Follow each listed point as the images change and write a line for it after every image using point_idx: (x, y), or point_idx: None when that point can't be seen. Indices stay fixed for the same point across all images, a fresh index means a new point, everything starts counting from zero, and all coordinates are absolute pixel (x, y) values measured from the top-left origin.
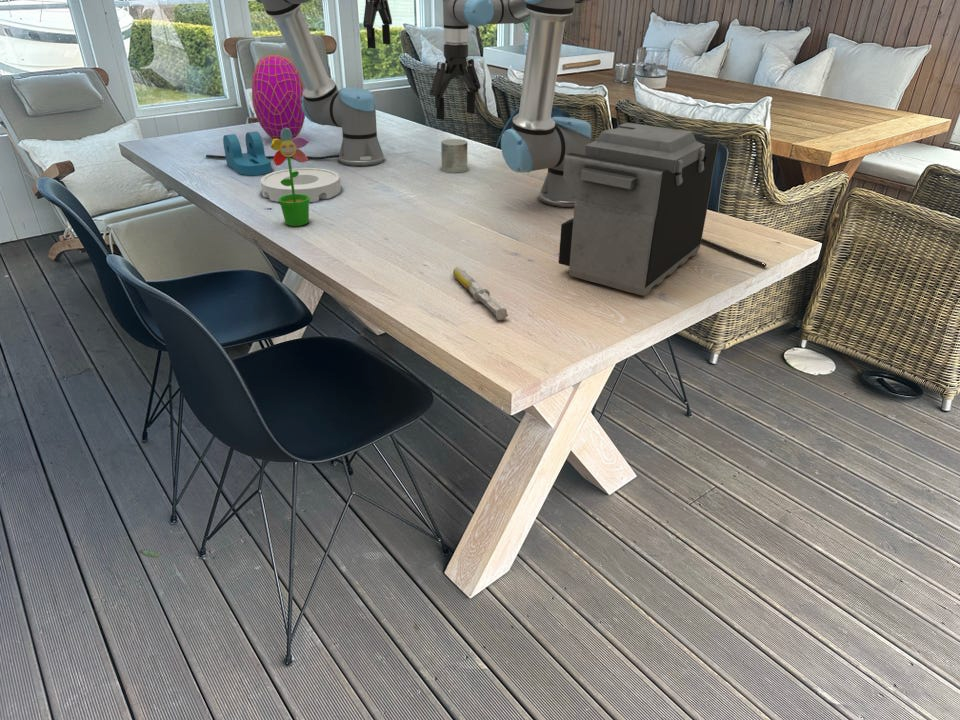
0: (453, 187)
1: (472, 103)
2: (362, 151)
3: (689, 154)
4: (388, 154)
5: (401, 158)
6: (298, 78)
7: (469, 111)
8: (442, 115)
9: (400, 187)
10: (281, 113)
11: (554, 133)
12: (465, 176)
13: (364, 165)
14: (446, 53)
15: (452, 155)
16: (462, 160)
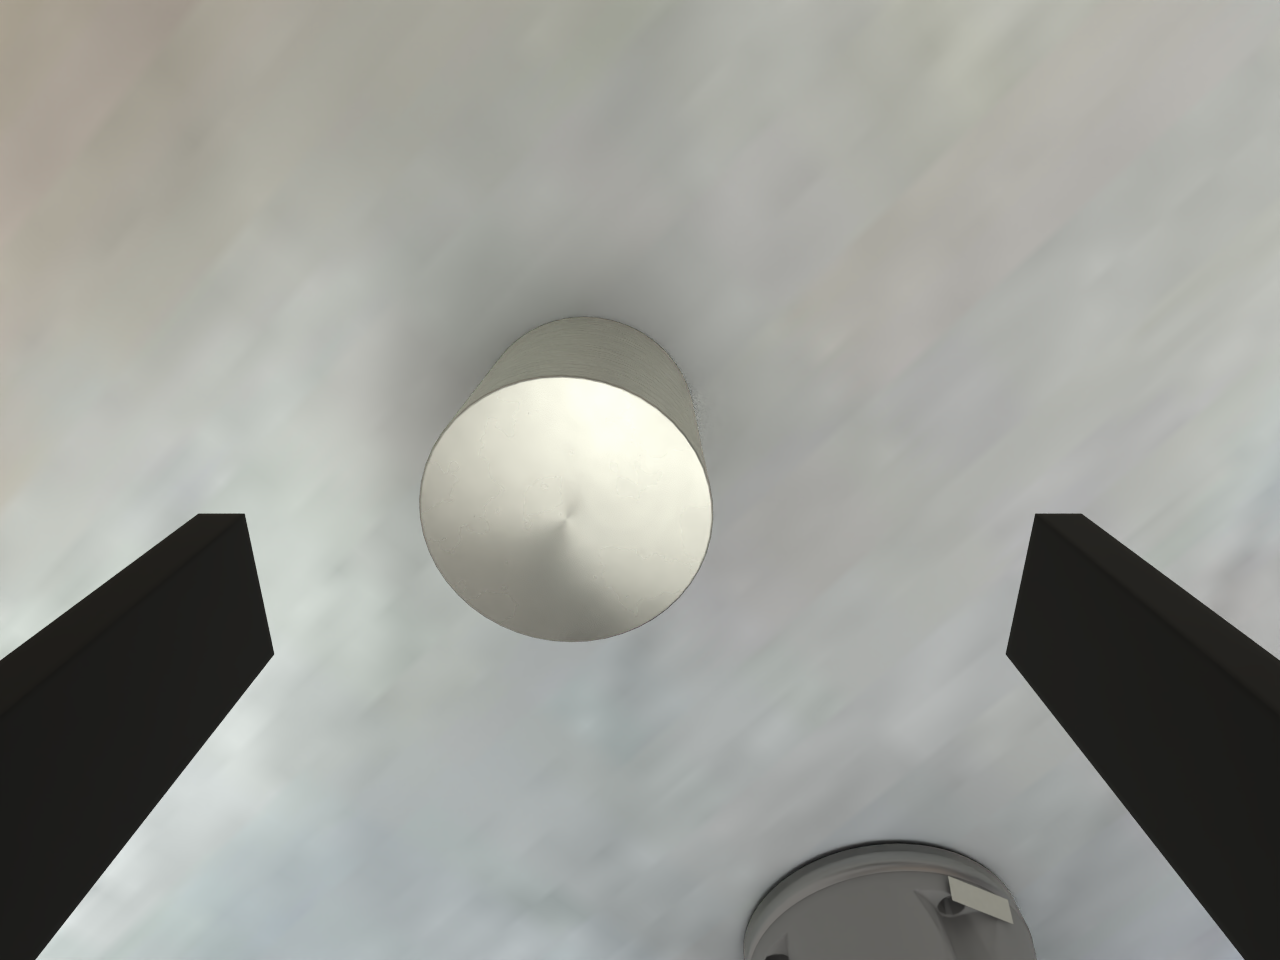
0: (1028, 4)
1: (122, 630)
2: (1001, 956)
3: None
4: (653, 946)
5: (661, 847)
6: None
7: (245, 610)
8: (1133, 552)
9: (1270, 349)
10: None
11: None
12: (678, 197)
13: (971, 861)
14: None
15: (680, 402)
16: (592, 338)
